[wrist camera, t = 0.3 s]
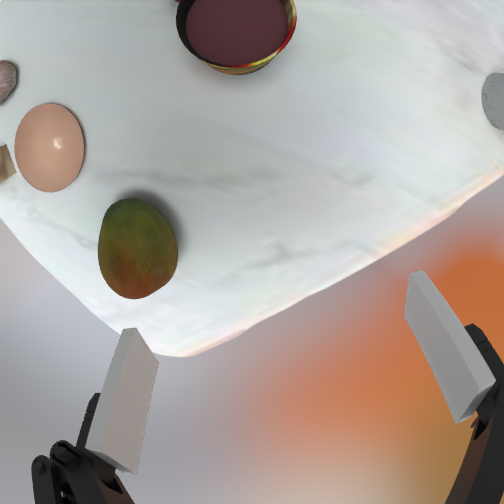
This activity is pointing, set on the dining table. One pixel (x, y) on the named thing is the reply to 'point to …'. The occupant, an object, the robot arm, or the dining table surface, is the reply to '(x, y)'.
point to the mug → (236, 31)
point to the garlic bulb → (6, 78)
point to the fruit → (136, 249)
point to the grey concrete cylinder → (494, 99)
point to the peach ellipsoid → (49, 147)
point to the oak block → (5, 164)
